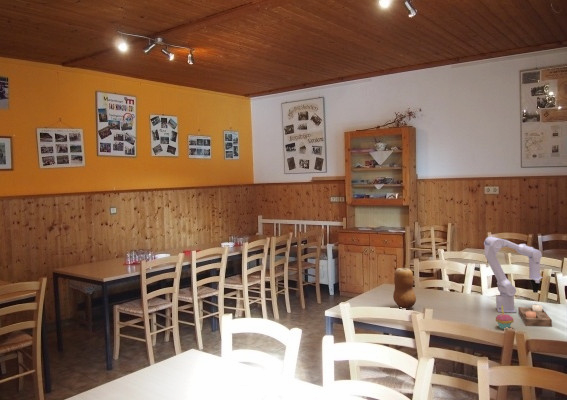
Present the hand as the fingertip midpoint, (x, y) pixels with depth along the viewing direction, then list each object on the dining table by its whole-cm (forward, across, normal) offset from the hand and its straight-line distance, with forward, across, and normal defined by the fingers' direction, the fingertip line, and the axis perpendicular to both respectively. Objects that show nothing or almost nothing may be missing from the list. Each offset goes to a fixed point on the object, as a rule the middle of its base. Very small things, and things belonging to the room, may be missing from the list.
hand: (535, 292), depth 274 cm
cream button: (+8, -17, +3) cm, 19 cm away
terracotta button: (+9, -27, +7) cm, 29 cm away
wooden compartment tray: (+9, -22, +5) cm, 24 cm away
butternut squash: (+10, -8, +74) cm, 75 cm away
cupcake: (+10, -38, +22) cm, 45 cm away
